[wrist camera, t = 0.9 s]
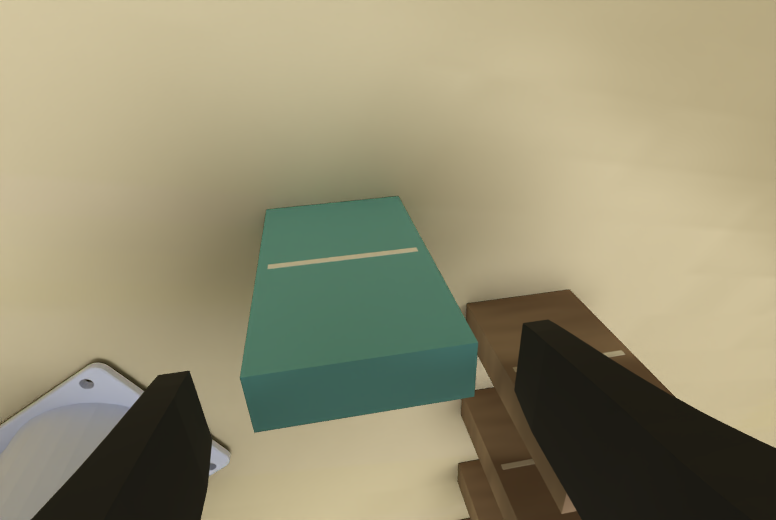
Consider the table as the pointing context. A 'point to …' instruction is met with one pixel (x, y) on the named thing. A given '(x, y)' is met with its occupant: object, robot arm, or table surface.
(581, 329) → the domino
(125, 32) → the table surface
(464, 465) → the domino
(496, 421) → the domino
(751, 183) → the table surface
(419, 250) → the domino
